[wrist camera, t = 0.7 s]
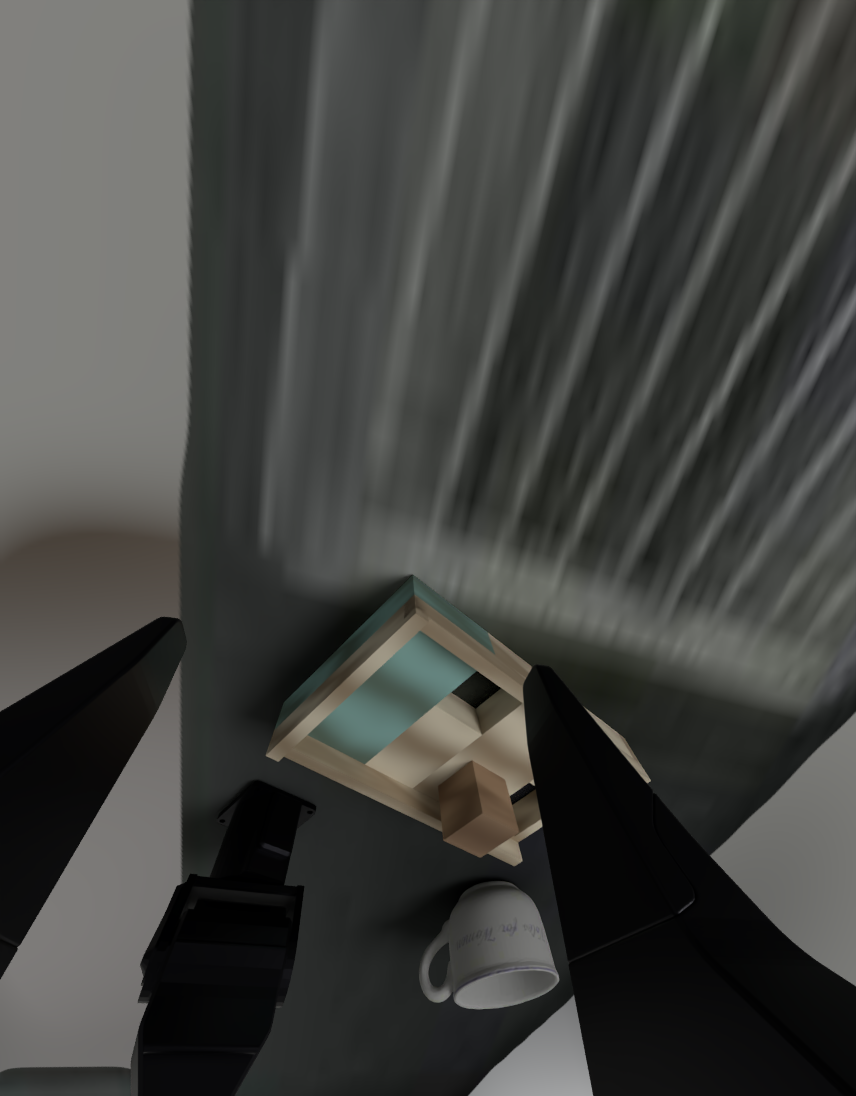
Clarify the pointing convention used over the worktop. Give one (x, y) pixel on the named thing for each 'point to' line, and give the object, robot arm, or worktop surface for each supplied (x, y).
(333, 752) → the track
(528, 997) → the teacup
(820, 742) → the worktop surface
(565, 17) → the worktop surface
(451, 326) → the worktop surface
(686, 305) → the worktop surface
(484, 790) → the walnut block
